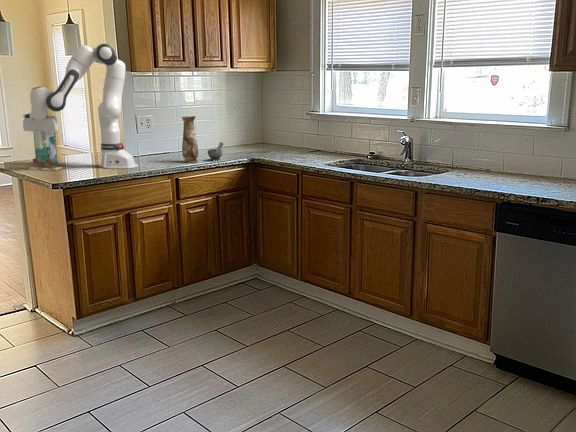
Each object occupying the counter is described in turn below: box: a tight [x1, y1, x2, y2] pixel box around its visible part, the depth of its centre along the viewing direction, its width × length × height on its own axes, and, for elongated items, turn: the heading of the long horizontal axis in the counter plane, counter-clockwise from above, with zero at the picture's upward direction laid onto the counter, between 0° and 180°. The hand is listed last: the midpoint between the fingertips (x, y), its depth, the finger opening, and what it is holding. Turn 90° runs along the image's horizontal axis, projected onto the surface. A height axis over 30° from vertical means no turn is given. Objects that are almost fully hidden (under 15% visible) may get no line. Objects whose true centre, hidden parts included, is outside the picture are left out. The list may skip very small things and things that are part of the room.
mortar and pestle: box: [207, 141, 224, 161], centre depth 379 cm, size 11×9×12 cm
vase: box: [180, 114, 199, 163], centre depth 368 cm, size 10×11×30 cm
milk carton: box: [32, 131, 59, 164], centre depth 352 cm, size 9×9×25 cm
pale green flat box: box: [33, 130, 49, 148], centre depth 330 cm, size 9×3×10 cm, turn 172°
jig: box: [26, 157, 63, 171], centre depth 334 cm, size 18×7×6 cm, turn 82°
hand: (41, 139), depth 330 cm, fingers closed on pale green flat box, 3 cm apart
